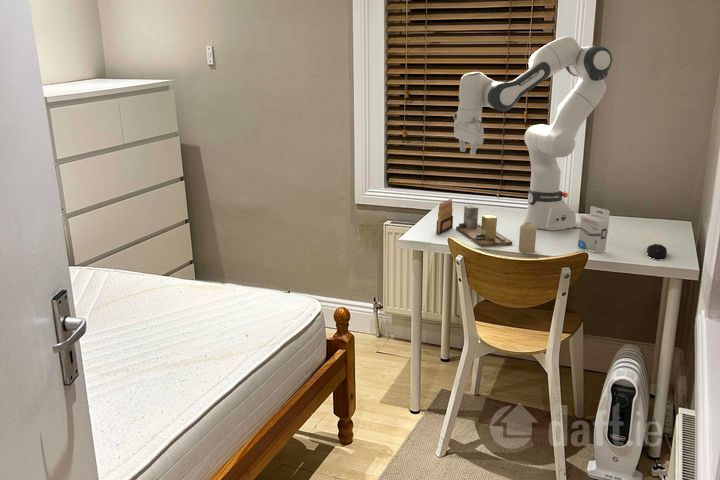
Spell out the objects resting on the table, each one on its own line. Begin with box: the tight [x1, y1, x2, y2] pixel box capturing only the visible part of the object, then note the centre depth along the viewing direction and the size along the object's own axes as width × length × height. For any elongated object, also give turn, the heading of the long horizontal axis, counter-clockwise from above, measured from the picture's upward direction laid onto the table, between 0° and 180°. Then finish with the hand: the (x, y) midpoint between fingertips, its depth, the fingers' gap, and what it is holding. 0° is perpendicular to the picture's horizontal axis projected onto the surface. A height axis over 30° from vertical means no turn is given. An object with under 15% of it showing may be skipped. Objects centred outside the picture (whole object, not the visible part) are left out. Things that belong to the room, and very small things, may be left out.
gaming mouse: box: [646, 243, 668, 260], centre depth 235 cm, size 6×15×4 cm, turn 159°
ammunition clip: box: [435, 198, 454, 235], centre depth 262 cm, size 11×2×12 cm, turn 147°
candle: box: [518, 222, 538, 253], centre depth 239 cm, size 6×6×10 cm
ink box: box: [577, 205, 610, 254], centre depth 240 cm, size 9×5×15 cm, turn 33°
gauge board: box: [455, 205, 513, 248], centre depth 255 cm, size 12×24×9 cm, turn 14°
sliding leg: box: [476, 214, 498, 240], centre depth 248 cm, size 6×4×8 cm, turn 104°
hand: (467, 153), depth 260 cm, fingers open, 8 cm apart
